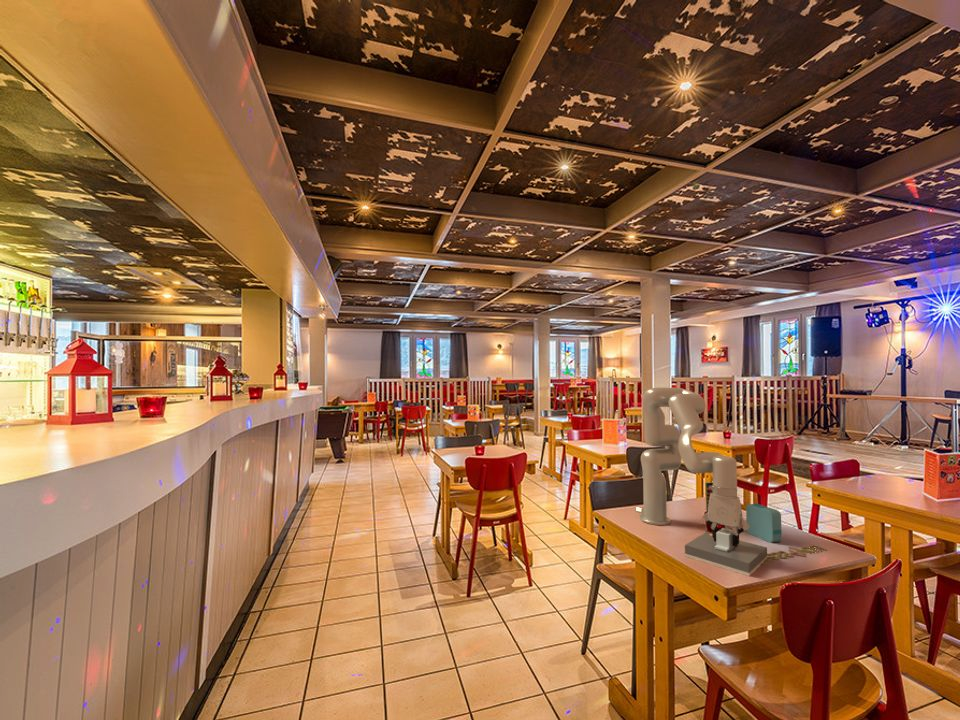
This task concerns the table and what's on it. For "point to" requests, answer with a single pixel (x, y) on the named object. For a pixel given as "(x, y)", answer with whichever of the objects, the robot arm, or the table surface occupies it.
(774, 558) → the text sign
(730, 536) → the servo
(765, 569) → the table surface
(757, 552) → the chassis
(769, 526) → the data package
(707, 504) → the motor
